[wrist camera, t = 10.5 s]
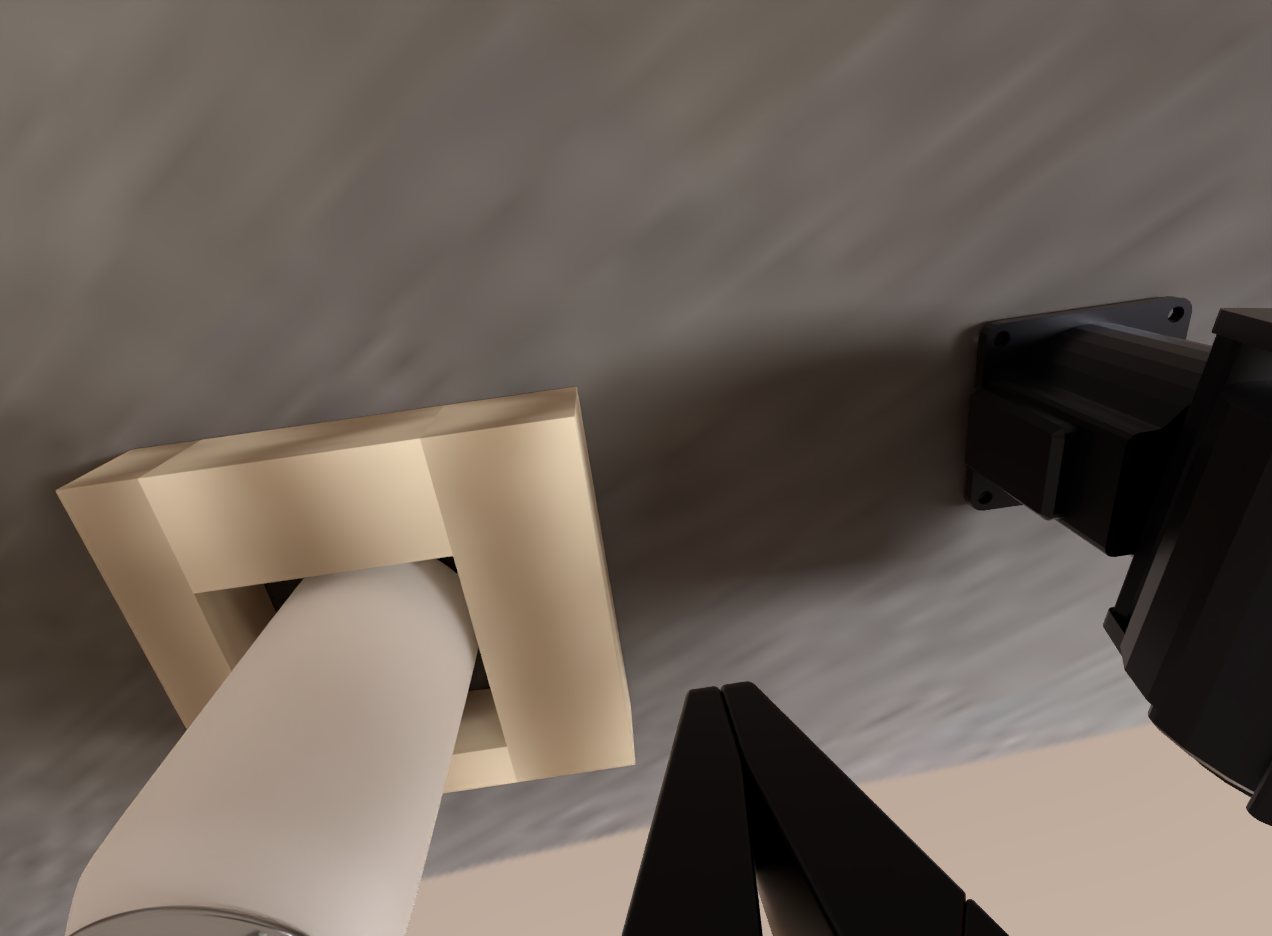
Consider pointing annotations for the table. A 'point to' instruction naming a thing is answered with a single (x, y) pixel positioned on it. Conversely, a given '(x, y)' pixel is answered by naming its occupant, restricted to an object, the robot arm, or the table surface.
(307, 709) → the can
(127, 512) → the frame
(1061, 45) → the table surface
